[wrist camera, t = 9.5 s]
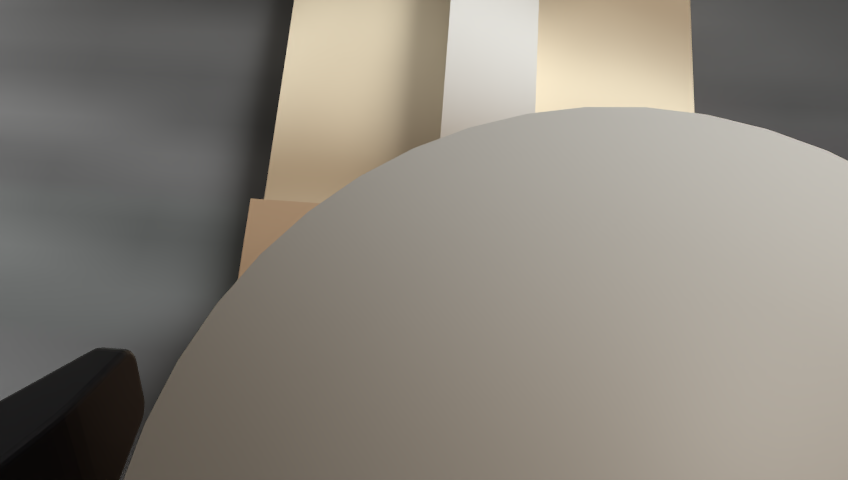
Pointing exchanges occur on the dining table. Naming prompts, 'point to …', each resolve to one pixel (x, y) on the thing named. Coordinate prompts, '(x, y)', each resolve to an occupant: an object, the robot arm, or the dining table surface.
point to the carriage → (533, 315)
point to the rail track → (399, 78)
